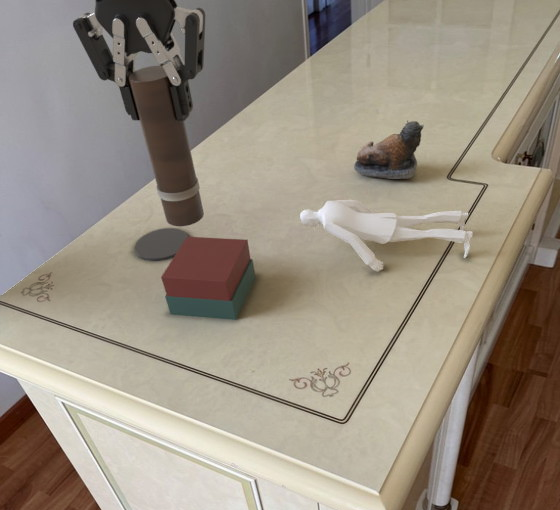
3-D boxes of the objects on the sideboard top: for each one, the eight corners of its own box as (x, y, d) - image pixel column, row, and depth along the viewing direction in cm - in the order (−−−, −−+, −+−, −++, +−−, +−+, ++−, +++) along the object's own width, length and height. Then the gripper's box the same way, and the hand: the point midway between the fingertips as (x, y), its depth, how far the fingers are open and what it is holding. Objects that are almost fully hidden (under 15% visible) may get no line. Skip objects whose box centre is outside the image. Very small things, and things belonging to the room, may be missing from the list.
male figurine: (454, 232, 95) (301, 216, 96) (465, 197, 91) (304, 181, 91) (464, 283, 86) (294, 265, 86) (477, 247, 81) (297, 229, 82)
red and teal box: (194, 273, 91) (184, 236, 86) (255, 277, 88) (249, 239, 84) (170, 314, 84) (158, 276, 80) (236, 320, 82) (228, 281, 77)
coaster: (124, 253, 97) (123, 250, 97) (160, 226, 102) (160, 223, 102) (164, 267, 93) (163, 264, 93) (200, 238, 98) (199, 235, 98)
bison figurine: (349, 180, 107) (348, 124, 100) (363, 162, 111) (363, 108, 104) (413, 189, 102) (416, 132, 95) (425, 170, 106) (430, 114, 99)
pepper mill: (182, 112, 76) (122, 49, 61) (219, 112, 75) (167, 48, 60) (170, 231, 76) (108, 197, 62) (207, 233, 75) (153, 199, 60)
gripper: (26, -57, 53) (89, 132, 65) (173, -69, 49) (210, 133, 61) (67, -73, 58) (118, 104, 70) (203, -85, 54) (232, 104, 66)
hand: (161, 117), depth 65 cm, fingers closed on pepper mill, 5 cm apart
